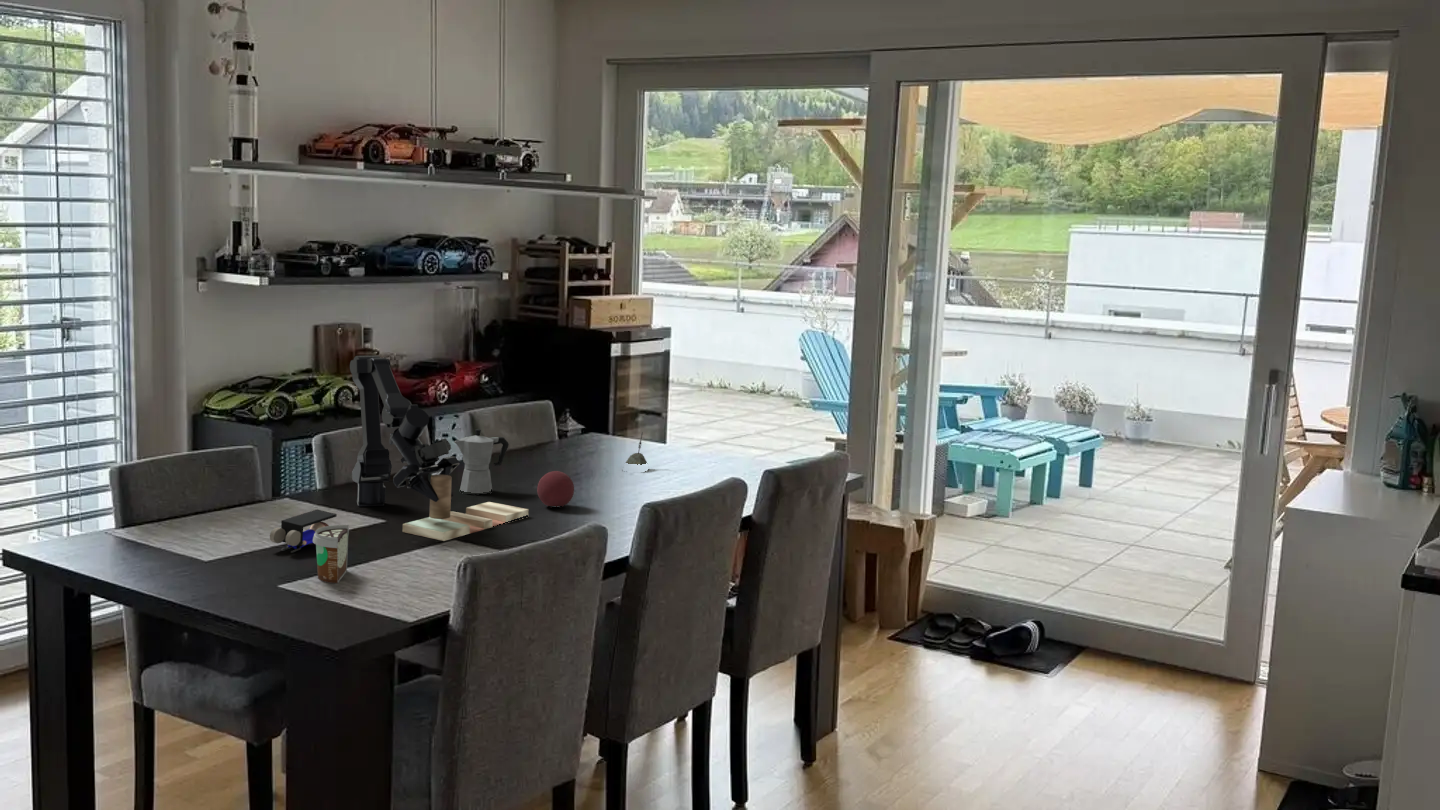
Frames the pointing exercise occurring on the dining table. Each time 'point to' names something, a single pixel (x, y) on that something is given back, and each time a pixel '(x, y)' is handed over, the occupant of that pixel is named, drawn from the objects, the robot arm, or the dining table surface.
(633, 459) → the sword in stone
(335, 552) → the food container
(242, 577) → the dining table surface
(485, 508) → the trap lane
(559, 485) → the decorative ball
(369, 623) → the dining table surface
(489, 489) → the coffeepot
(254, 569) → the dining table surface
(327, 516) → the figurine character
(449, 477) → the walnut cylinder
